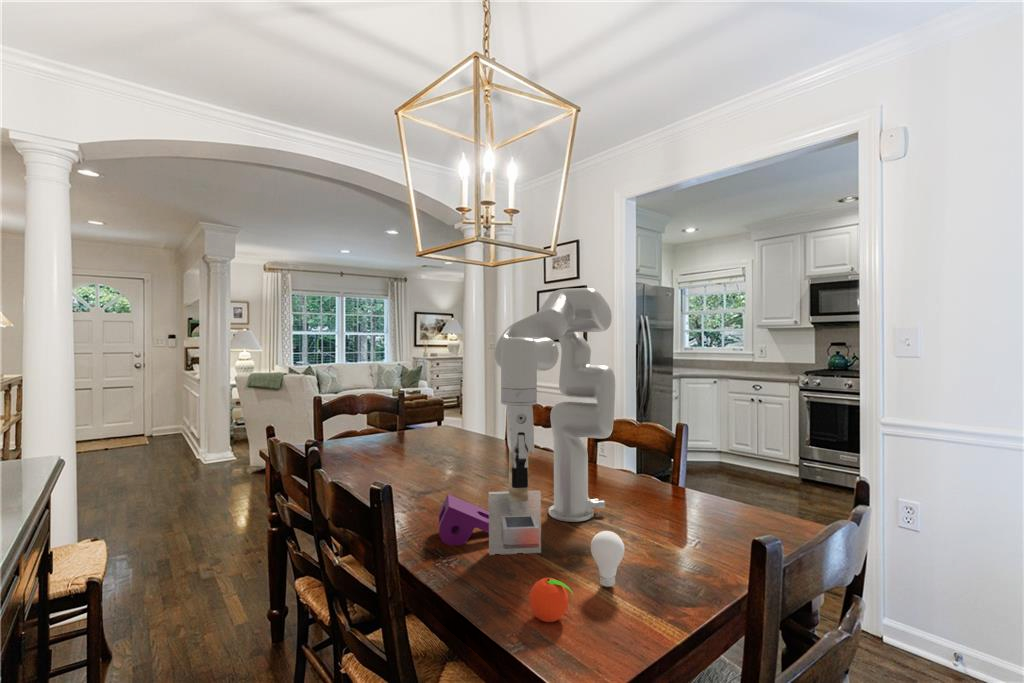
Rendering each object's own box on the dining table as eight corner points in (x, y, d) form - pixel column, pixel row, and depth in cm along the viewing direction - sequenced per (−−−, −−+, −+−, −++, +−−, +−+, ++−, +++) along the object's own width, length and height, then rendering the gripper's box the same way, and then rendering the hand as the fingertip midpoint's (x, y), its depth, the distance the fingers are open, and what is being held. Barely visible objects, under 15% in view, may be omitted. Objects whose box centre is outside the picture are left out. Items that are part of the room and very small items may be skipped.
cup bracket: (540, 549, 114) (539, 490, 114) (550, 582, 99) (550, 513, 99) (488, 552, 113) (488, 492, 113) (491, 585, 98) (491, 515, 98)
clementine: (576, 611, 88) (576, 572, 88) (571, 634, 81) (571, 592, 81) (533, 605, 90) (533, 567, 90) (525, 627, 83) (525, 586, 83)
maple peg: (526, 495, 103) (527, 439, 104) (529, 501, 99) (529, 443, 100) (508, 496, 103) (508, 439, 103) (509, 502, 99) (509, 443, 99)
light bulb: (584, 586, 97) (583, 532, 97) (603, 575, 101) (603, 523, 101) (612, 599, 92) (612, 541, 92) (631, 586, 97) (630, 531, 97)
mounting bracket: (496, 550, 128) (433, 524, 125) (510, 520, 128) (448, 494, 126) (501, 566, 118) (433, 539, 116) (515, 534, 119) (448, 506, 116)
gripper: (542, 401, 93) (542, 496, 93) (531, 392, 110) (531, 473, 110) (503, 401, 93) (503, 497, 93) (498, 392, 109) (498, 473, 109)
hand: (518, 483), depth 101 cm, fingers closed on maple peg, 4 cm apart
